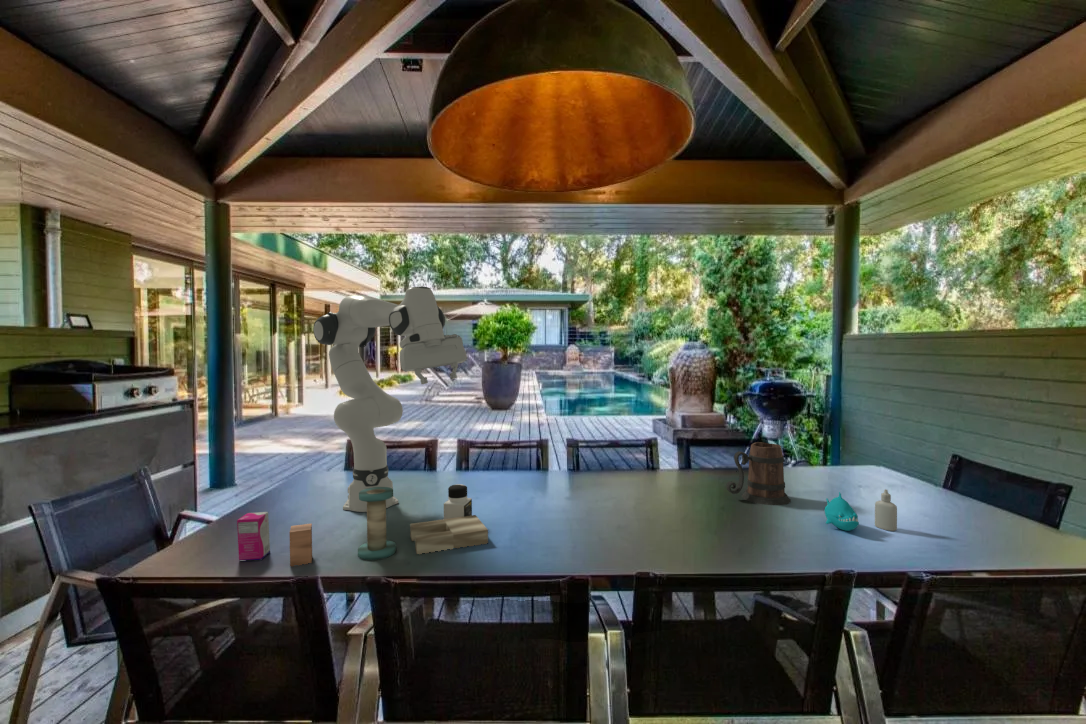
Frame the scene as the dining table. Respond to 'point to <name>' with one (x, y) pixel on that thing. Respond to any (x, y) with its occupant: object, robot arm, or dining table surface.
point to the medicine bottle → (457, 502)
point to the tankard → (762, 475)
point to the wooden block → (300, 544)
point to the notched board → (448, 534)
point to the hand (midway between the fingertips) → (439, 381)
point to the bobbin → (376, 524)
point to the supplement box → (253, 536)
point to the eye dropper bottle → (886, 513)
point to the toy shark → (841, 514)
